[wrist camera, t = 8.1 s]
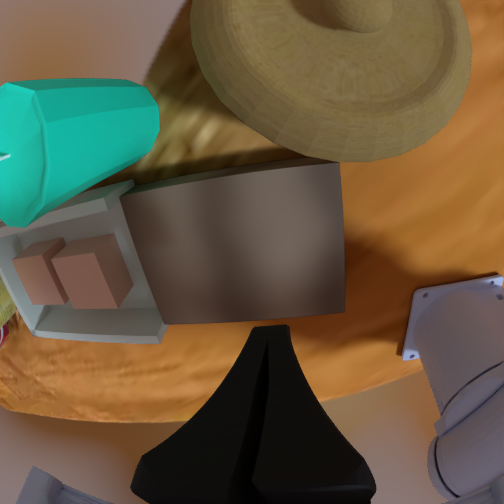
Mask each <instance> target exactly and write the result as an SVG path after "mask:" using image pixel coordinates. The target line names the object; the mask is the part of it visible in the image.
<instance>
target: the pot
mask: <svg viewBox="0 0 504 504" xmlns="http://www.w3.org/2000/svg"><path fill="white" fill-rule="evenodd" d="M190 28H191V39H192V47H193V49H194V52H195V55H196V58H197V61H198V63H199V66H200V69H201V72H202V74H203V76H204V77H205V79H206V80H207V82H208V83H209V85H210V86H211V87H212V89H213V90H214V92H215V93H216V95H217V96H218V98H219V99H220V101H221V102H222V103H223V104H224V105H226V106H227V107H228V108H229V109H230V110H231V111H232V112H233V113H234V114H235V115H236V116H237V117H238V118H239V119H240V120H241V121H242V122H243V123H244V124H246V125H247V126H249V127H250V128H252V129H253V130H255V131H256V132H258V133H259V134H261V135H263V136H264V137H266V138H267V139H269V140H270V141H272V142H273V143H275V144H278V145H280V146H283V147H285V148H288V149H290V150H293V151H295V152H298V153H300V154H302V155H305V156H310V157H315V158H320V159H325V160H330V161H335V162H371V161H376V160H380V159H385V158H390V157H395V156H399V155H401V154H403V153H405V152H408V151H410V150H412V149H414V148H416V147H418V146H420V145H422V144H424V143H426V142H427V141H428V140H429V139H430V138H432V137H433V136H434V135H435V134H436V133H438V132H439V131H440V130H441V129H442V128H444V127H445V126H446V124H447V123H448V121H449V120H450V119H451V117H452V116H453V114H454V113H455V111H456V110H457V109H458V107H459V106H460V104H461V101H462V98H463V96H464V93H465V91H466V88H467V85H468V82H469V80H470V71H471V62H472V45H471V38H470V32H469V26H468V22H467V20H466V17H465V14H464V12H463V9H462V7H461V4H460V2H459V0H193V1H192V6H191V12H190Z"/></svg>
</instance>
